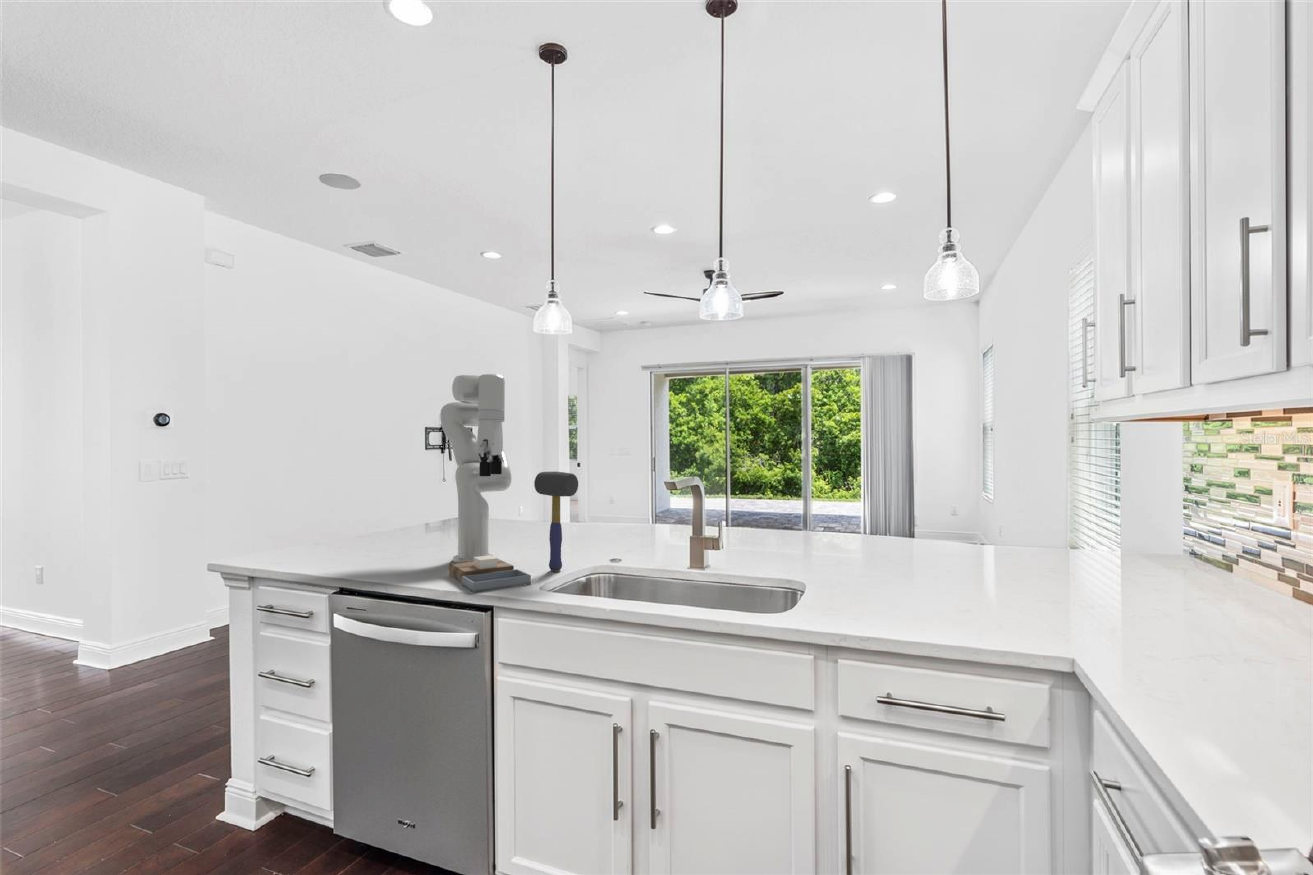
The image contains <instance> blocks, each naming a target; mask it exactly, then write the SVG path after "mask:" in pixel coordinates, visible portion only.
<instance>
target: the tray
mask: <svg viewBox="0 0 1313 875" xmlns="http://www.w3.org/2000/svg"><path fill="white" fill-rule="evenodd" d="M531 581H532V575H531V574H529V573H527V572H525V571H522V570H520V569H518V568H515V569H514V570H507V571H499V572H492V573H484V574H476V575H468V576H462V583H461V585H462V587H463V588H466V589H467V590H468V591H470V592H472V593H479V592H486V591H493V590H501V589H508V588H512V587H513V588H514V586H515V587H519V586H520V587H522V586H526V585H527V586H528V585H531V584H532V582H531Z"/></svg>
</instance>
